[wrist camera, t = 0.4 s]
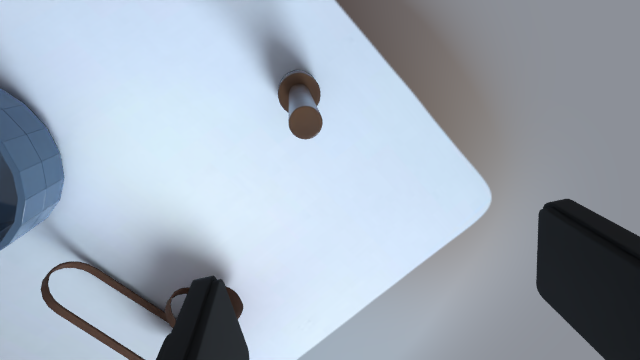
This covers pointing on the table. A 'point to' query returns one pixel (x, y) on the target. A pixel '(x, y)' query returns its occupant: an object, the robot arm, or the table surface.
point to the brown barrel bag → (166, 315)
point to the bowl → (25, 170)
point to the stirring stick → (301, 103)
